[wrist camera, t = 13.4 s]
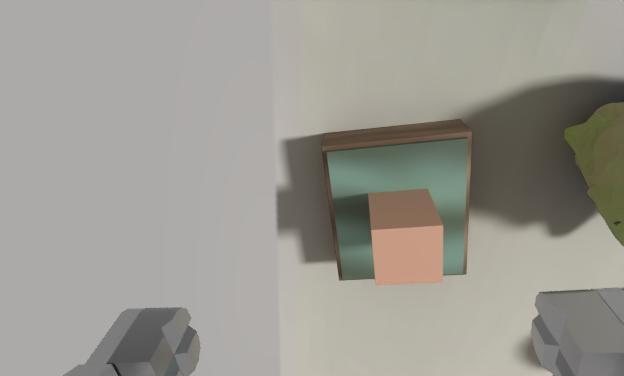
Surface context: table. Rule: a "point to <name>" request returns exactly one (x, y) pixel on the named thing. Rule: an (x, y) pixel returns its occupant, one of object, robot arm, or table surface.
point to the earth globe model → (603, 162)
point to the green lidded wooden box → (397, 186)
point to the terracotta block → (406, 237)
